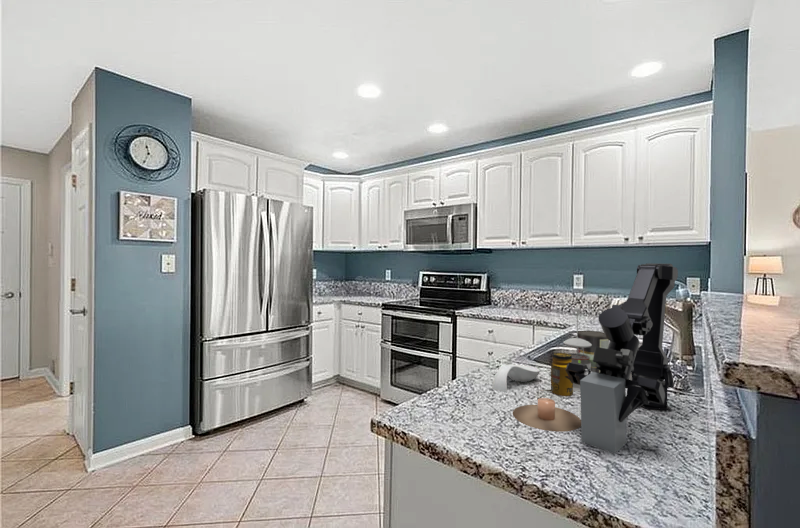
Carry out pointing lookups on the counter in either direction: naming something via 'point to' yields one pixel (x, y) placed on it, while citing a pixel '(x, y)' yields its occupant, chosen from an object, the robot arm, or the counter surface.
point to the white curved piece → (513, 375)
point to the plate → (559, 424)
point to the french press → (576, 356)
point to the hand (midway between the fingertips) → (601, 415)
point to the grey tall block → (602, 411)
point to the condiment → (560, 375)
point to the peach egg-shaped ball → (546, 409)
